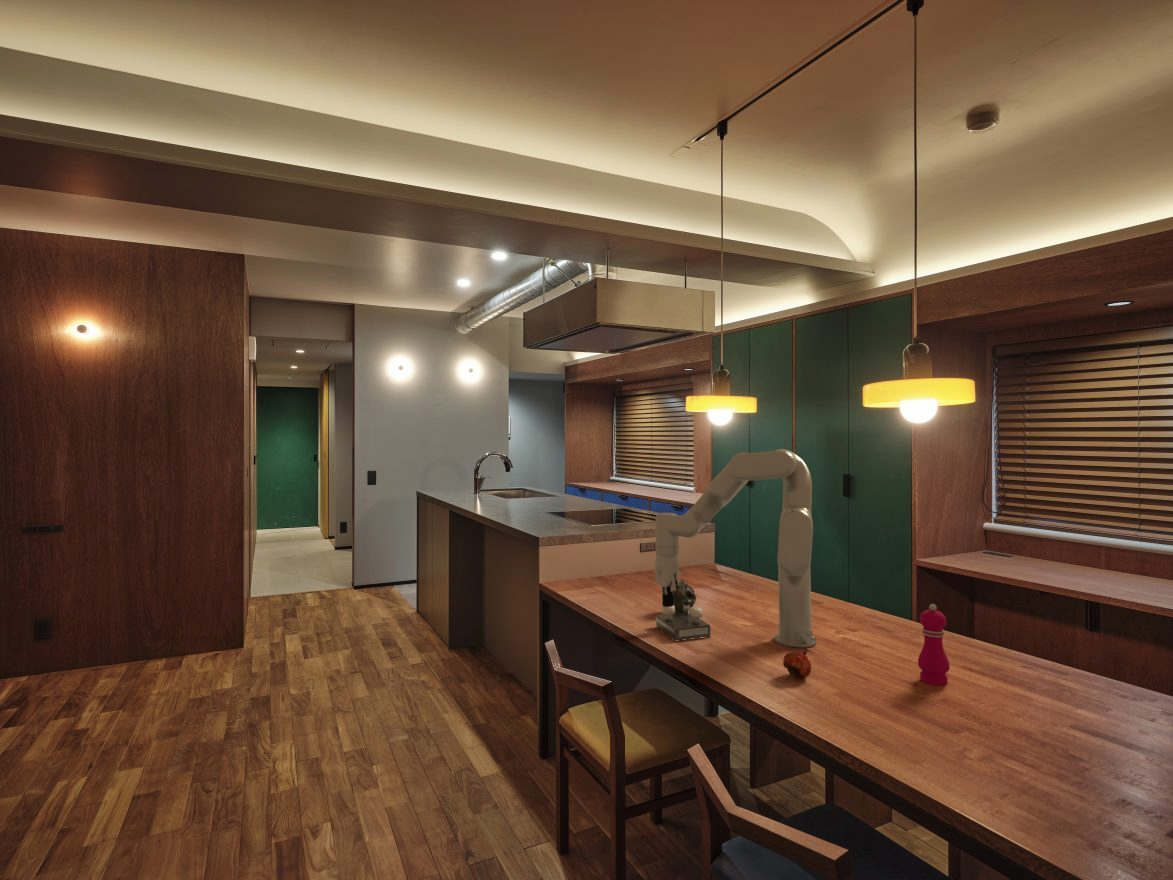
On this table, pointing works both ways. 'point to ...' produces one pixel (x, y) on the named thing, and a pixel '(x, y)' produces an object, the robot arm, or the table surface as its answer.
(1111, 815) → the table surface
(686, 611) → the dark brown round knob
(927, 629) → the pepper mill
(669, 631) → the mount
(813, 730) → the table surface
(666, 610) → the knob
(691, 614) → the knob
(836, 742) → the table surface
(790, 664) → the red round fruit
